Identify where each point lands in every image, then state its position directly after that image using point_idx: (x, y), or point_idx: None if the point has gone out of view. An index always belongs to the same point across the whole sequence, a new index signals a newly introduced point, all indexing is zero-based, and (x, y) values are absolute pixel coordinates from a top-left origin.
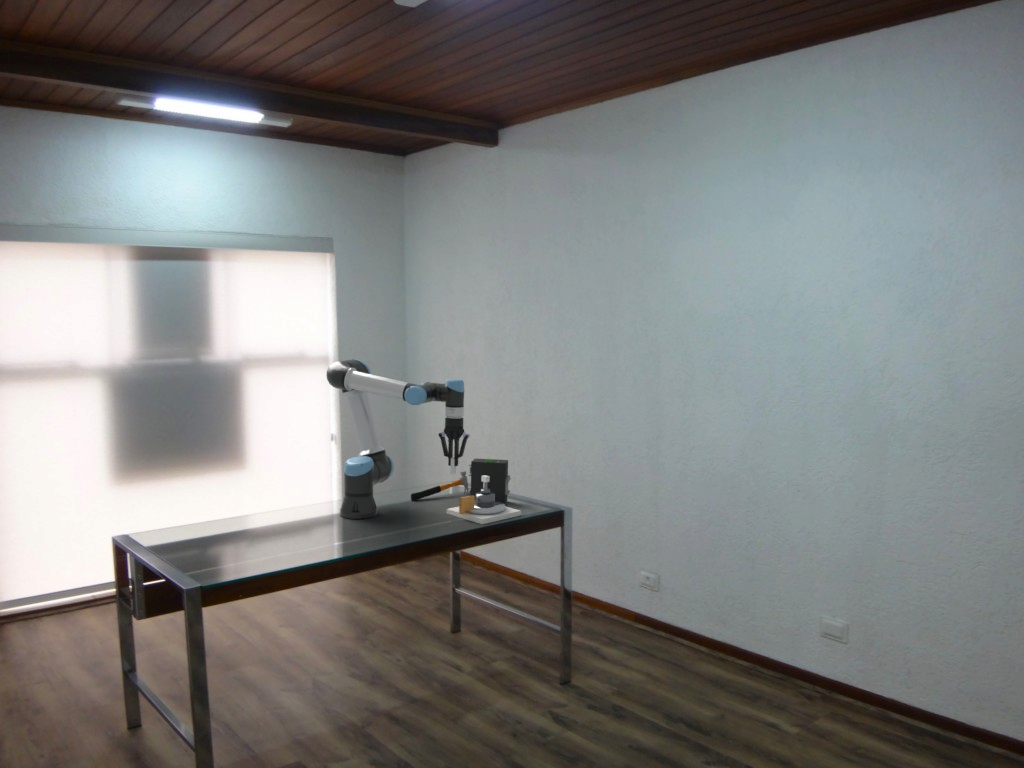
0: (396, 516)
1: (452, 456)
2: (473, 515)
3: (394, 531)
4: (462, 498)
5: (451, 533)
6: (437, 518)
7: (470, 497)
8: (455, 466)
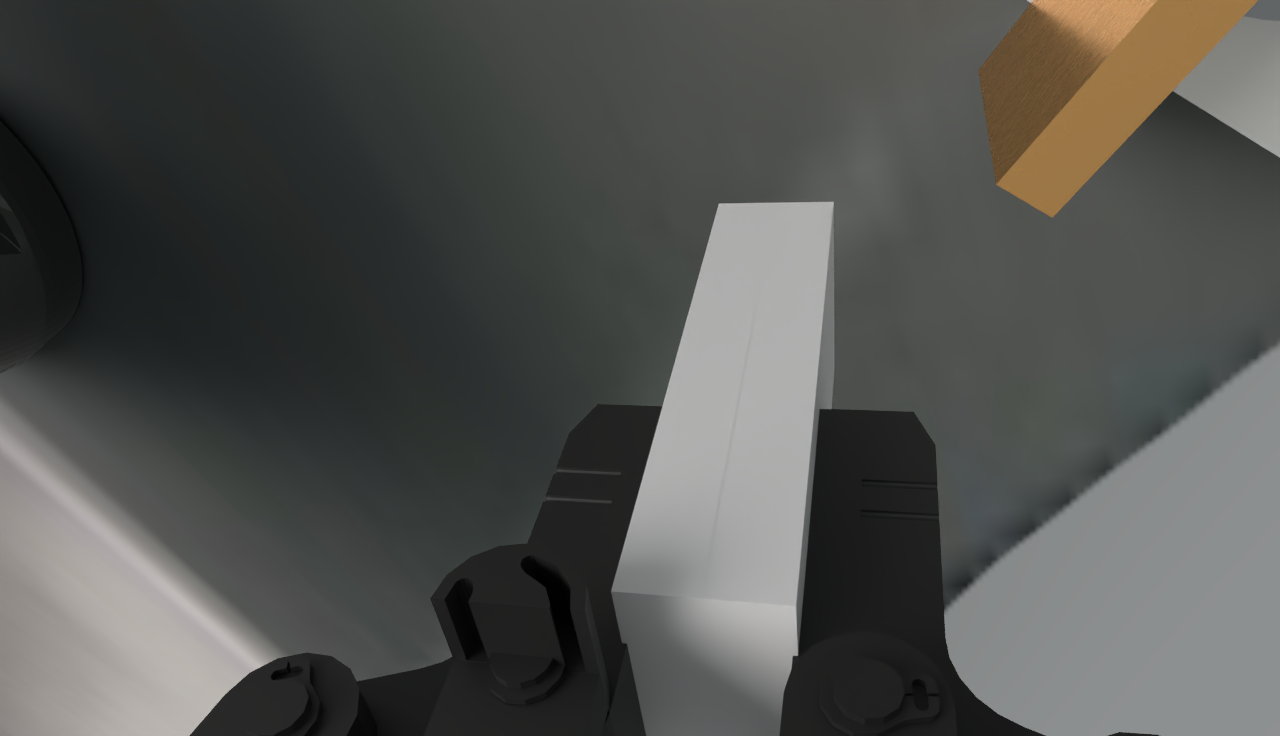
0: (229, 152)
1: (600, 646)
2: (1224, 49)
3: None
4: (1063, 200)
5: (1005, 539)
6: (677, 88)
7: (1222, 29)
8: (822, 375)
